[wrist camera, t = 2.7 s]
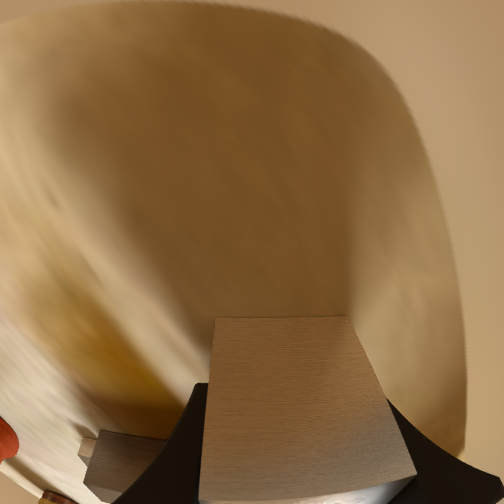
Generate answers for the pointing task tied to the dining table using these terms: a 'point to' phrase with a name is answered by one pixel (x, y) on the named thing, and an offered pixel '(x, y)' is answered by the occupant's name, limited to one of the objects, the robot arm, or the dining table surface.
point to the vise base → (116, 462)
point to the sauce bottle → (54, 499)
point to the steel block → (297, 417)
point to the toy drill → (7, 441)
